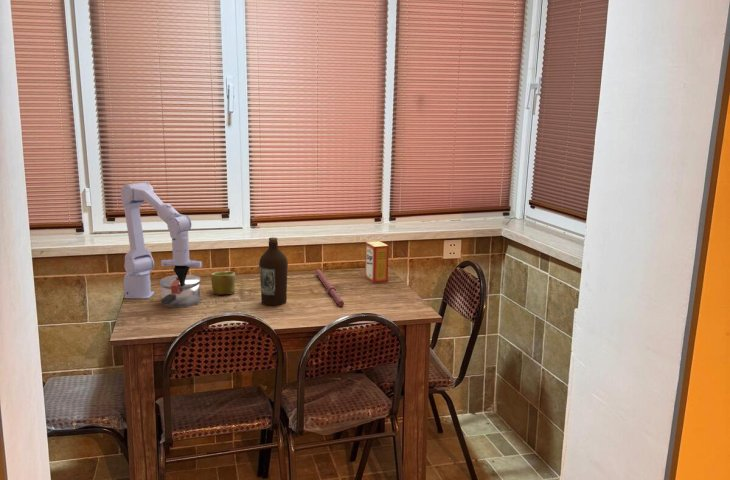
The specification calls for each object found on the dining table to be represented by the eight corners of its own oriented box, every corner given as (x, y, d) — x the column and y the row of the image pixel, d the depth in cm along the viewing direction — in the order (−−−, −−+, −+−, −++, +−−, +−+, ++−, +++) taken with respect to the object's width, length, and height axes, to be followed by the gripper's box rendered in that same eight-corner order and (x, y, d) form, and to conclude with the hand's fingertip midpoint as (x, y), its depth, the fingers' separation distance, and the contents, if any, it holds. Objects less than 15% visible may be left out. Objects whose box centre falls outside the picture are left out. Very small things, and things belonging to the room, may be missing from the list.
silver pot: (172, 294, 252) (171, 277, 250) (206, 296, 250) (205, 279, 248) (147, 311, 233) (146, 292, 231) (184, 313, 230) (183, 295, 229)
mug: (232, 293, 248) (226, 268, 249) (209, 299, 251) (203, 274, 251) (246, 290, 260) (240, 266, 260) (224, 296, 263) (218, 272, 263)
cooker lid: (163, 277, 248) (163, 270, 248) (202, 276, 250) (202, 269, 250) (153, 294, 228) (153, 286, 228) (195, 293, 230) (195, 285, 229)
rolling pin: (345, 307, 241) (345, 299, 240) (336, 308, 240) (337, 300, 239) (321, 274, 283) (321, 267, 283) (314, 275, 282) (314, 268, 282)
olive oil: (271, 296, 252) (270, 233, 246) (293, 300, 247) (293, 237, 241) (254, 303, 243) (252, 239, 237) (276, 308, 238) (275, 242, 232)
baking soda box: (364, 276, 281) (365, 241, 277) (378, 275, 283) (379, 240, 279) (373, 282, 272) (374, 246, 268) (387, 281, 275) (388, 244, 271)
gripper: (204, 247, 234) (205, 283, 237) (165, 246, 235) (167, 281, 238) (197, 252, 227) (199, 289, 230) (157, 250, 228) (159, 287, 232)
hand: (182, 285), depth 234 cm, fingers closed
